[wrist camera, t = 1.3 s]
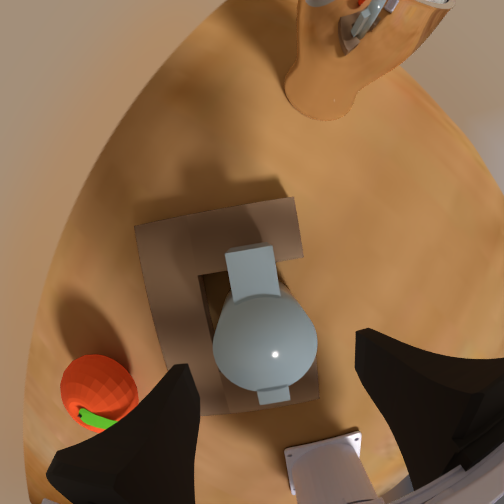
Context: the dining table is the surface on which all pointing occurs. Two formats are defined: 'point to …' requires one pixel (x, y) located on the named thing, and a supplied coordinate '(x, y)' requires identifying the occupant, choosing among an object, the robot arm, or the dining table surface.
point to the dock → (194, 296)
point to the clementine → (98, 392)
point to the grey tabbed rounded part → (262, 327)
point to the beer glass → (353, 48)
